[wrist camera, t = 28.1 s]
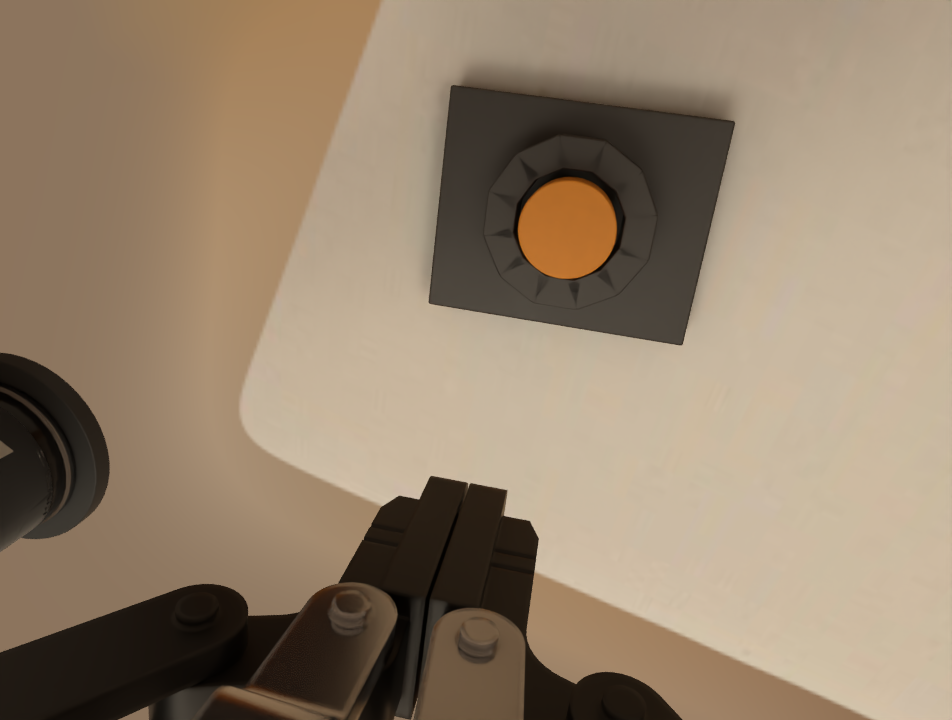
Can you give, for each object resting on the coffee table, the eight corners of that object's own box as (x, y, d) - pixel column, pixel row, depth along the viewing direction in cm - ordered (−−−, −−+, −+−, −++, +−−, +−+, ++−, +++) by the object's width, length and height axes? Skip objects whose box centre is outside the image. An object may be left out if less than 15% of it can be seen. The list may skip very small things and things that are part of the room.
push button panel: (436, 295, 32) (417, 314, 29) (458, 86, 29) (440, 82, 26) (678, 334, 31) (687, 360, 28) (727, 121, 28) (745, 121, 25)
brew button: (516, 262, 28) (511, 271, 26) (529, 170, 27) (525, 173, 25) (606, 276, 27) (606, 286, 26) (624, 183, 26) (625, 187, 25)
